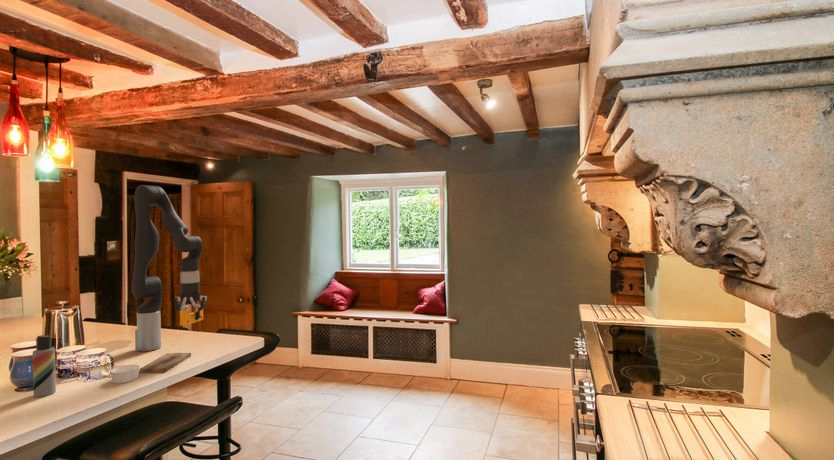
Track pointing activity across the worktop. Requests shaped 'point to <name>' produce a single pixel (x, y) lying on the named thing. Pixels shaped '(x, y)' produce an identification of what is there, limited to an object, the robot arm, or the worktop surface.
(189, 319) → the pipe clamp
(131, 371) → the ramekin
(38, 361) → the lotion bottle
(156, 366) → the bolt plate
